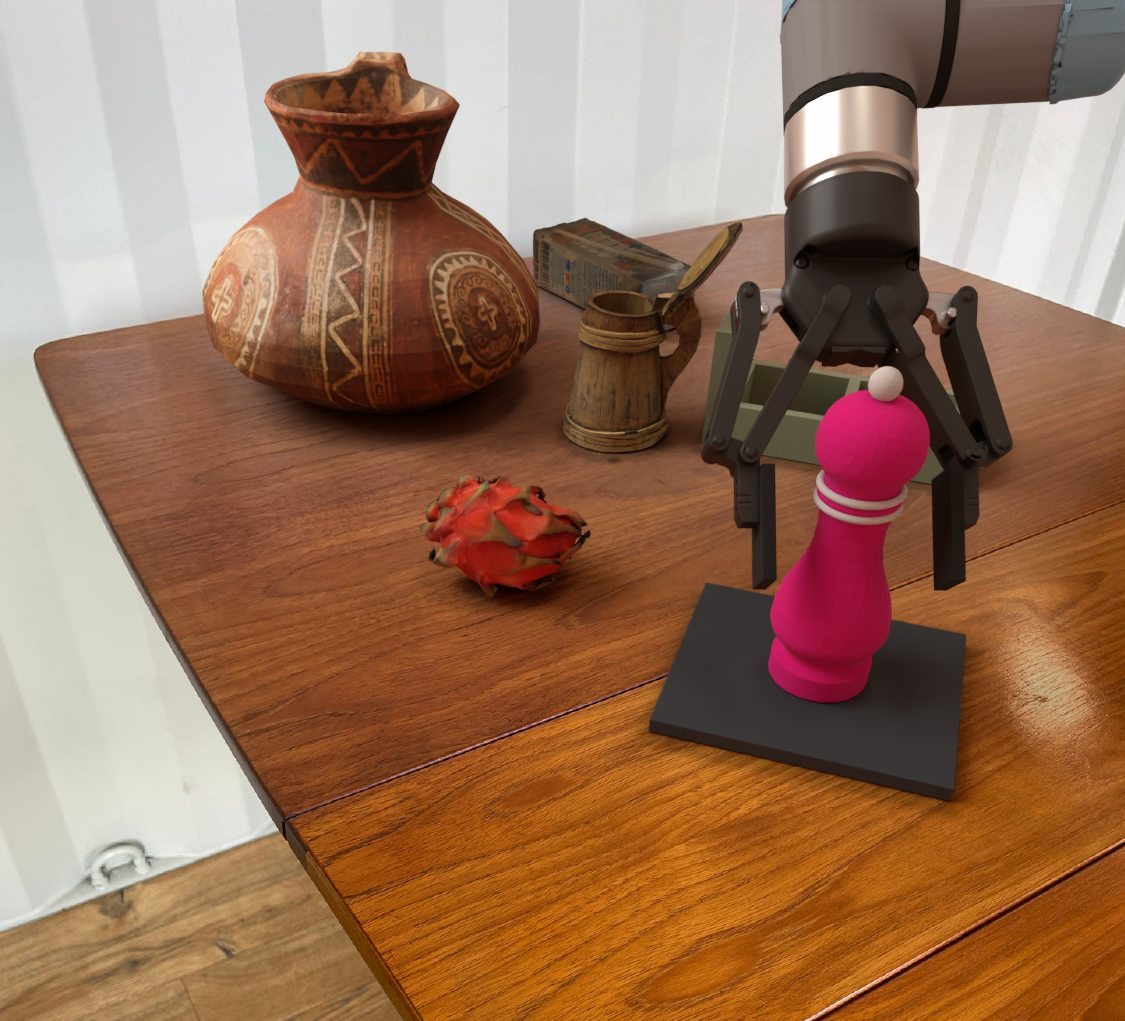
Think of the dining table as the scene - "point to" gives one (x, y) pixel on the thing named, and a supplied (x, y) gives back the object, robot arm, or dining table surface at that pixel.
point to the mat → (812, 729)
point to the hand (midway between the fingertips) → (857, 585)
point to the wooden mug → (635, 358)
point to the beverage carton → (600, 263)
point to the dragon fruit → (501, 533)
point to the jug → (369, 257)
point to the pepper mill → (848, 543)
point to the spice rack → (792, 404)
